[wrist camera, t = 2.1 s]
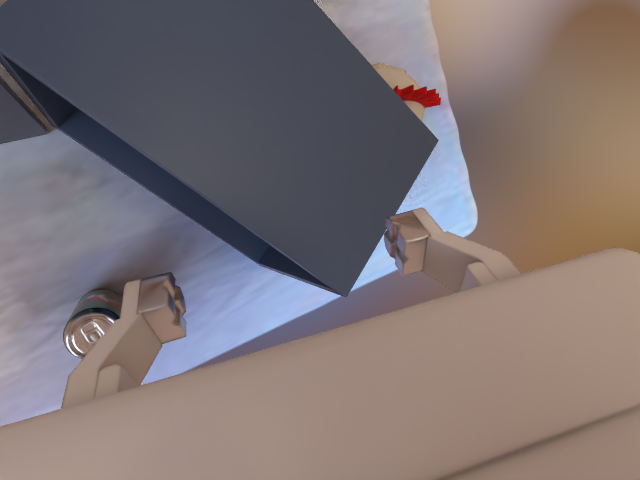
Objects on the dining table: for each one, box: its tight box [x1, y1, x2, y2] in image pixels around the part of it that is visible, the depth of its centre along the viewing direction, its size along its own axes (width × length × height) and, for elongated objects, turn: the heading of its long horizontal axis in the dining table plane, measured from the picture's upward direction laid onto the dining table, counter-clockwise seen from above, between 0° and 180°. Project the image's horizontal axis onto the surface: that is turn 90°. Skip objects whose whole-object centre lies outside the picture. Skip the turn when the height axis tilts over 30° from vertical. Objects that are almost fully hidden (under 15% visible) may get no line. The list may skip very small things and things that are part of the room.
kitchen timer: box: [371, 63, 441, 121], centre depth 55 cm, size 14×14×15 cm
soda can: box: [63, 289, 123, 359], centre depth 40 cm, size 5×5×12 cm
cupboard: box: [0, 0, 438, 297], centre depth 40 cm, size 18×30×24 cm, turn 55°
